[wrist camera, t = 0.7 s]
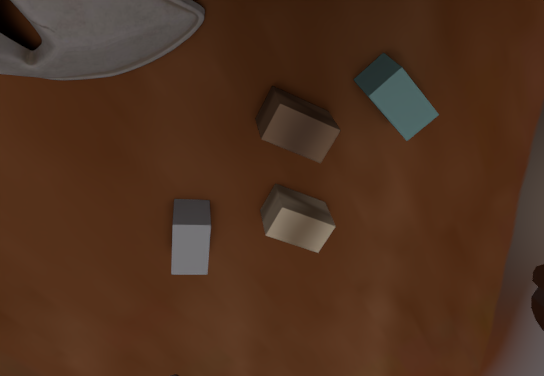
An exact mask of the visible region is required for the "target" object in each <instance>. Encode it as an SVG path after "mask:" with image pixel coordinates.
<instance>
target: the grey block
mask: <svg viewBox="0 0 544 376" xmlns="http://www.w3.org/2000/svg"><path fill="white" fill-rule="evenodd" d="M210 231H211V219H210V201H209V200H190V199H174V211H173V231H172V273H171V274H207V271H208V258H209V244H210Z"/></svg>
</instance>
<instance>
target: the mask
mask: <svg viewBox="0 0 544 376" xmlns="http://www.w3.org/2000/svg"><path fill="white" fill-rule="evenodd" d="M10 1H11V2H12V3H13V4H14V5H15V6H16V7H17V8H18V9H19V10H20V12H21V13H22V14H23V15H24V16H25V17H26V18H27V19H28V21H29V22H30V23H31V24H32V25H33V27H34V28H35V29H36V31H37V32H38V33H39V35H40V37H41V39H42V44H41V45H40V46H39V47H38V48H37V49H36V50H34V51H31V50H29V49H27V48H25V47H23V46H21V45H19V44H18V43H16V42H14V41H13V40H11V39H9V38H8V37H6V36H4V35H3V34H2V33H0V74H8V75H17V76H29V77H41V78H46V79H52V80H81V79H92V78H102V77H109V76H114V75H118V74H122V73H125V72H128V71H131V70H133V69H136V68H138V67H141V66H143V65H146V64H148V63H150V62H152V61H154V60H156V59H158V58H160V57H162V56H163V55H165V54H167V53H168V52H170V51H172V50H173V49H175V48H176V47H177V46H179V45H180V44H181V43H183V42H184V41H185V40H187V39H188V38H189V37H190V36H191V35H192V34H193V33H194V32H195V31H196V30H197V29H198V28H199V27H200V25H201V24H202V22H203V20H204V14H205V10H204V8H203V7H202V6H200V5H199V4H197V3H196V2H194V1H192V0H10Z"/></svg>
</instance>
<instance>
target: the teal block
mask: <svg viewBox="0 0 544 376" xmlns="http://www.w3.org/2000/svg"><path fill="white" fill-rule="evenodd" d="M354 81H355V82H356V83H357V84H358V86H359V87H360V88H361V89H362V90H363V91H364V93H365V94H366V95H367V96H368V97H369V98H370V100H371V101H372V102H373V103H374V104H375V105H376V106H377V108H378V109H379V110H380V111H381V112H382V113H383V115H384V116H385V117H386V118H387V119H388V120H389V122H390V123H391V124H392V125H393V126H394V127H395V128H396V129H397V130H398V132H399V133H400V134H401V135H402V136H403V137H404V138H405V139H406V140H407V141H408V140H409V139H410V138H411V137H412V136H414V135H415V134H416V133H417V132H419V131H420V130H421V129H422V128H423V127H425V126H426V125H427V124H428V123H430V122H431V121H432V120H433V119H434V118H436V117H437V116H438V115H439V114H438V113H437V112H436V110H435V109H434V108H433V106H432V105H431V104H430V103H429V101H428V100H427V99H426V97H425V96H424V95H423V94H422V92H421V91H420V90H419V88H418V87H417V86H416V85H415V83H414V82H413V81H412V79H411V78H410V77H409V76H408V74H407V73H406V72H405V70H404V69H403V68H402V67H401V66H400V65H399V64H397V63H396V62H395V61H393V60H392V59H391V58H390V57H388V56H387V55H386V54H385V53H383V54H381V55H380V56H379V57H378V58H377V59H376V60H375V61H374V62H372V63H371V64H370V65H369V66H368V67H367V68H366V69H365V70H364V71H362V72H361V73H360V74H359V75H358V76H357V77H356V78H355V79H354Z"/></svg>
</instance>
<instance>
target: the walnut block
mask: <svg viewBox="0 0 544 376" xmlns="http://www.w3.org/2000/svg"><path fill="white" fill-rule="evenodd" d="M256 123H257V126H258V130H259V133H260V137H261V139H262V140H265V141H267V142H270V143H272V144H274V145H277V146H279V147H282V148H284V149H287V150H289V151H292V152H294V153H297V154H299V155H301V156H304V157H306V158H309V159H311V160H314V161H316V162H319V163H321V162H322V160H323V158H324V157H325V155H326V153H327V152H328V150H329V149H330V147H331V145H332V144H333V142H334V140H335V139H336V137H337V135H338V134H339V132H340V131H341V130H340V129H339V127H338V126H337V124H336V123H335V121H334V119H333V118H332V116H331V115H330V113H329V112H328V111H327V110H324V109H322V108H320V107H318V106H316V105H313V104H311V103H309V102H307V101H305V100H303V99H300V98H298V97H296V96H294V95H292V94H289V93H287V92H285V91H283V90H281V89H278V88H276V87H274V86H272V88H271V90H270V91H269V93H268V95H267V97H266V99H265V101H264V103H263V105H262V107H261V109H260V111H259V113H258V115H257V117H256Z"/></svg>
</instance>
